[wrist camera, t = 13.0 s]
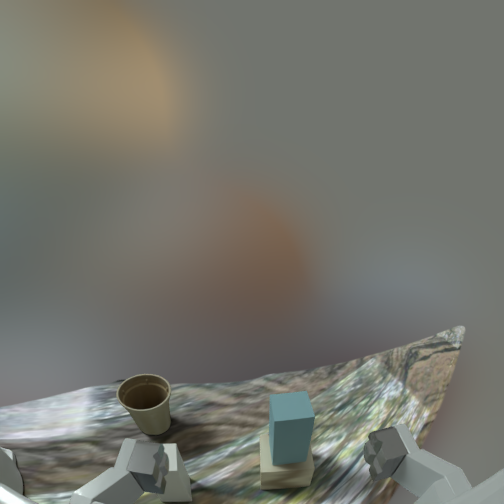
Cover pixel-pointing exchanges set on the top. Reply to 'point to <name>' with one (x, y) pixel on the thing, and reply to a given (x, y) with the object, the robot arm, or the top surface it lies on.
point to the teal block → (290, 427)
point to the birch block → (283, 470)
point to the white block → (176, 478)
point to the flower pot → (147, 402)
